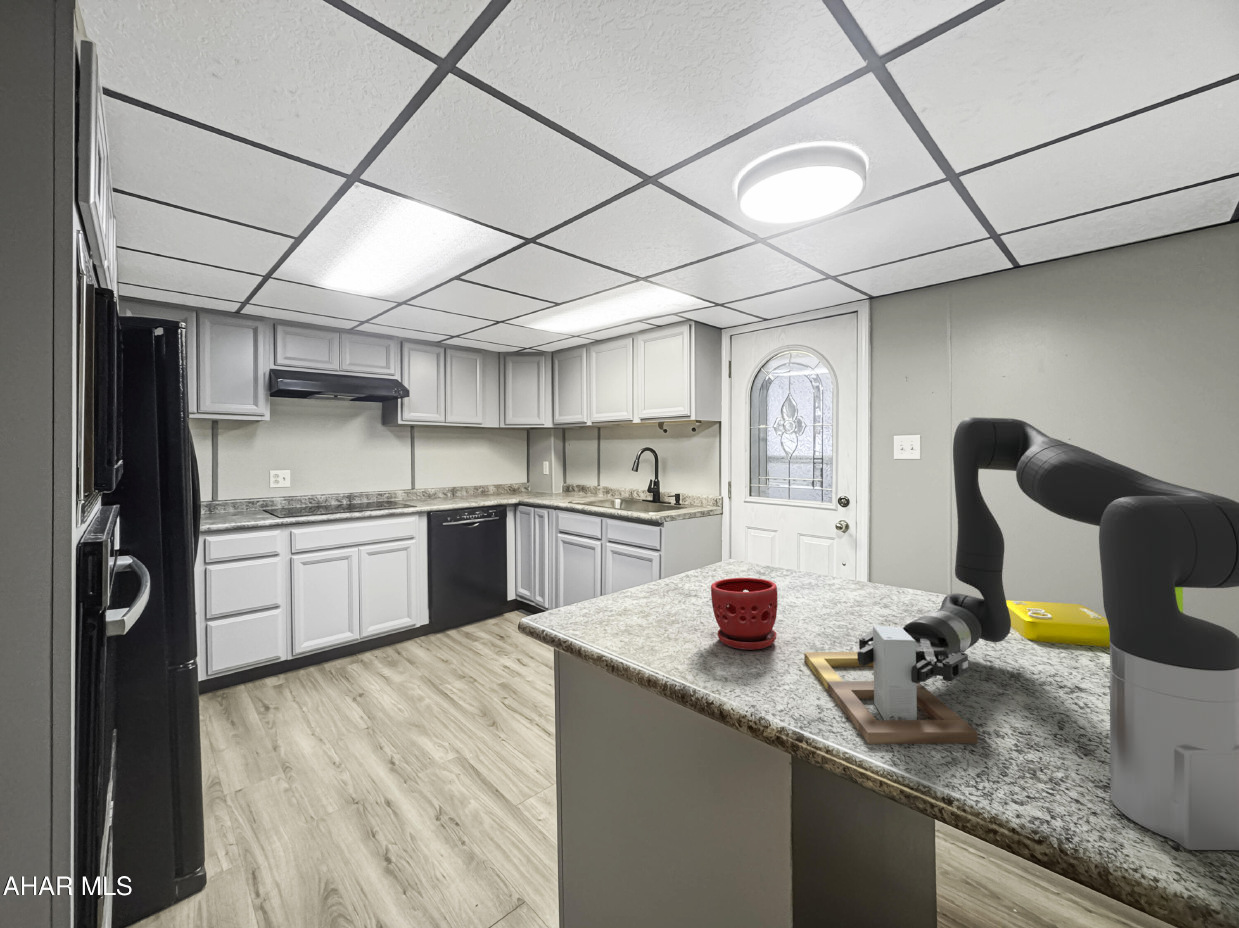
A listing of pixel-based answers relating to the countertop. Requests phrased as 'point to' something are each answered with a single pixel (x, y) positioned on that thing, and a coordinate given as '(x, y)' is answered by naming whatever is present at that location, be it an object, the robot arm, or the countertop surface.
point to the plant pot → (745, 612)
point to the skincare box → (894, 673)
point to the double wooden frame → (874, 731)
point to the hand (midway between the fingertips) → (886, 667)
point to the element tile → (1059, 623)
